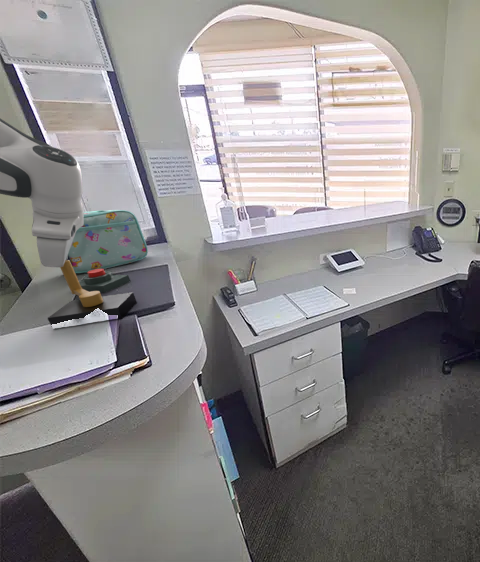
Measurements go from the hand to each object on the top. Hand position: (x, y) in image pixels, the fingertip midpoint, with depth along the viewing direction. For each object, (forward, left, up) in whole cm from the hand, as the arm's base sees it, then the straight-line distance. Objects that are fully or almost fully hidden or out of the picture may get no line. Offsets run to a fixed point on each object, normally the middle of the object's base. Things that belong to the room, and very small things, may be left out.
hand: (62, 261), depth 83 cm
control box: (-5, +11, -12) cm, 17 cm away
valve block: (+13, -7, -12) cm, 19 cm away
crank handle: (+9, -5, -9) cm, 14 cm away
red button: (-5, +11, -8) cm, 15 cm away
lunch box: (-22, +30, -12) cm, 39 cm away
